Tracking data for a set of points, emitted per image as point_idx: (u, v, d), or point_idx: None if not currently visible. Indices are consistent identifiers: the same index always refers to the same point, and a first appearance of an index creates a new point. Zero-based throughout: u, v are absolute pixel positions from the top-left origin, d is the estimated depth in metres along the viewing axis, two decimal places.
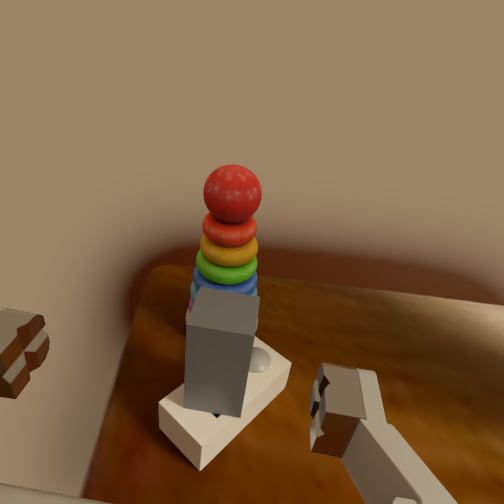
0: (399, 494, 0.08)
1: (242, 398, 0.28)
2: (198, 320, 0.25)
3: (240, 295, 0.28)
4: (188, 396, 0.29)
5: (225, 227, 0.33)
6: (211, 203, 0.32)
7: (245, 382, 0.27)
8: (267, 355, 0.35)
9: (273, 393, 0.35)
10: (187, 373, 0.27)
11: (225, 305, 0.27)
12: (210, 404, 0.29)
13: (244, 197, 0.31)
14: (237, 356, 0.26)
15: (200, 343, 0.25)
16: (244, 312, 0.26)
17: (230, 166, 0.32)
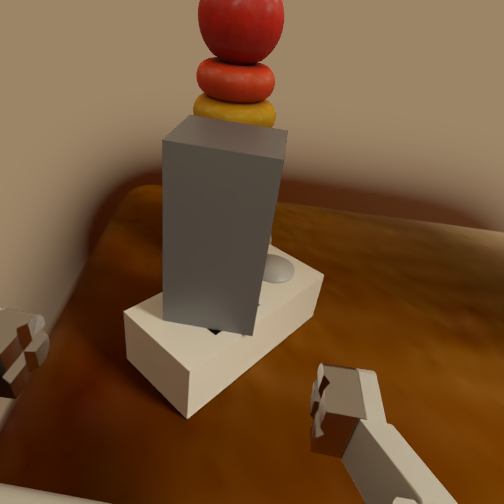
0: (399, 494, 0.08)
1: (257, 297, 0.17)
2: (183, 138, 0.14)
3: (255, 127, 0.17)
4: (170, 298, 0.18)
5: (230, 66, 0.22)
6: (210, 19, 0.21)
7: (263, 265, 0.16)
8: (289, 264, 0.24)
9: (298, 319, 0.24)
10: (167, 250, 0.16)
11: (231, 131, 0.16)
12: (205, 311, 0.18)
13: (259, 4, 0.20)
14: (252, 209, 0.15)
15: (187, 182, 0.15)
16: (263, 139, 0.15)
17: None
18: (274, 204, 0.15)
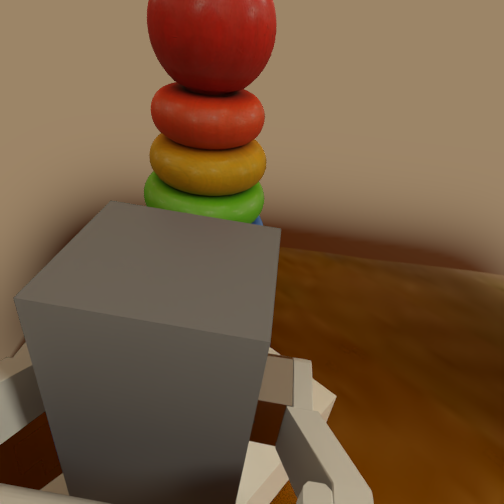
0: (316, 479, 0.08)
1: None
2: (66, 283, 0.07)
3: (224, 224, 0.10)
4: None
5: (197, 99, 0.15)
6: (161, 30, 0.14)
7: (236, 480, 0.09)
8: None
9: None
10: (64, 451, 0.09)
11: (175, 244, 0.09)
12: None
13: (237, 6, 0.13)
14: (210, 410, 0.08)
15: (79, 365, 0.07)
16: (233, 266, 0.08)
17: None
18: (253, 406, 0.07)
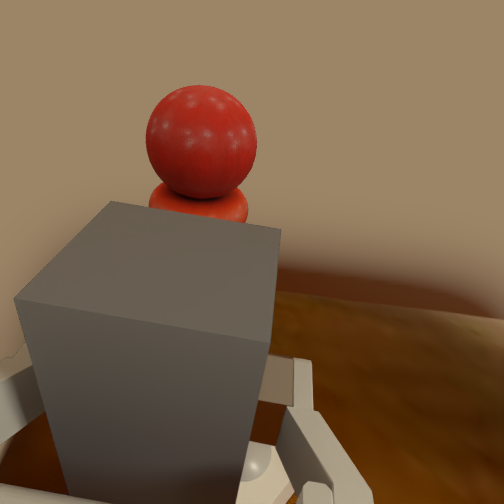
0: (317, 480, 0.08)
1: None
2: (66, 284, 0.07)
3: (224, 225, 0.10)
4: None
5: (188, 206, 0.18)
6: (158, 156, 0.16)
7: (236, 480, 0.09)
8: None
9: None
10: (64, 451, 0.09)
11: (175, 244, 0.09)
12: None
13: (221, 143, 0.15)
14: (210, 410, 0.08)
15: (79, 366, 0.07)
16: (233, 266, 0.08)
17: (196, 86, 0.16)
18: (253, 407, 0.07)
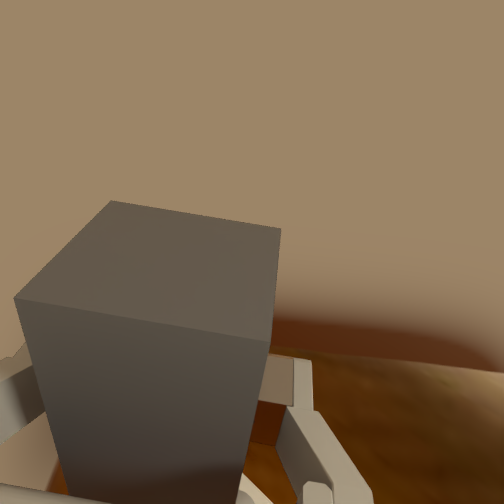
0: (317, 479, 0.08)
1: None
2: (66, 283, 0.07)
3: (224, 224, 0.10)
4: None
5: None
6: None
7: (236, 480, 0.09)
8: None
9: None
10: (64, 451, 0.09)
11: (175, 244, 0.09)
12: None
13: None
14: (211, 409, 0.08)
15: (79, 365, 0.07)
16: (233, 266, 0.08)
17: None
18: (253, 406, 0.07)
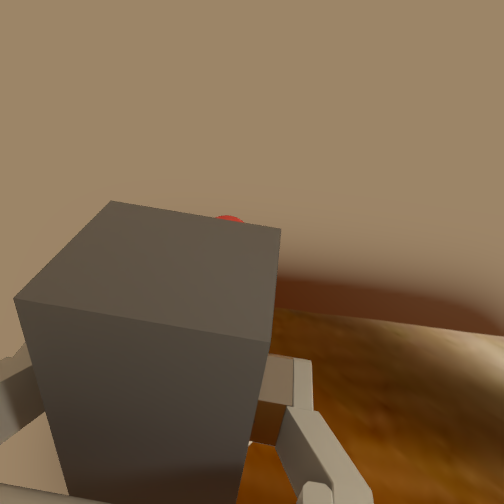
0: (317, 479, 0.08)
1: None
2: (65, 283, 0.07)
3: (224, 225, 0.10)
4: None
5: None
6: None
7: (236, 480, 0.09)
8: None
9: None
10: (64, 451, 0.09)
11: (175, 244, 0.09)
12: None
13: None
14: (211, 410, 0.08)
15: (79, 366, 0.07)
16: (233, 266, 0.08)
17: (224, 218, 0.35)
18: (253, 407, 0.07)
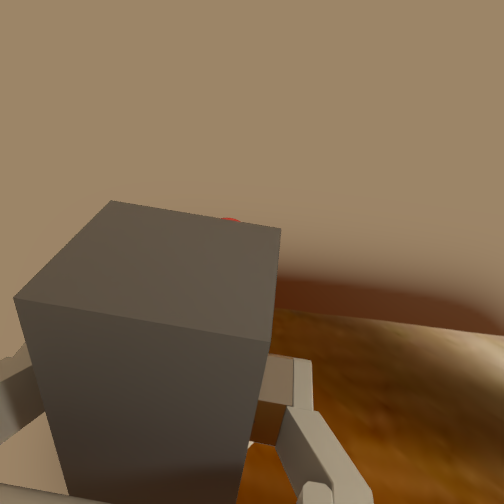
0: (317, 479, 0.08)
1: None
2: (66, 283, 0.07)
3: (224, 224, 0.10)
4: None
5: None
6: None
7: (236, 480, 0.09)
8: None
9: None
10: (64, 451, 0.09)
11: (175, 244, 0.09)
12: None
13: None
14: (210, 409, 0.08)
15: (79, 365, 0.07)
16: (233, 266, 0.08)
17: None
18: (253, 406, 0.07)
